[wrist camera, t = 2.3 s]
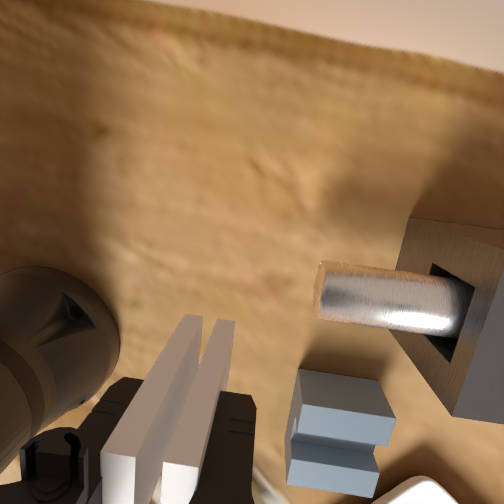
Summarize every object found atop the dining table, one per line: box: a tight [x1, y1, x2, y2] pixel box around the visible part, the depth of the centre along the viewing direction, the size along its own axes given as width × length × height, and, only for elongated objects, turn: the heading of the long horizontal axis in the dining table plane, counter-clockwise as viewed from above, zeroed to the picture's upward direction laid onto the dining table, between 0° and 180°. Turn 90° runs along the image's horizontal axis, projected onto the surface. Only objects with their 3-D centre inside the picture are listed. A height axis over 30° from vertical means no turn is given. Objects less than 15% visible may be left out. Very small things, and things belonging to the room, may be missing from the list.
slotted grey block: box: [389, 217, 504, 424], centre depth 23 cm, size 11×10×12 cm
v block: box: [285, 369, 396, 498], centre depth 30 cm, size 8×9×5 cm
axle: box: [313, 260, 475, 339], centre depth 21 cm, size 20×4×4 cm, turn 83°
